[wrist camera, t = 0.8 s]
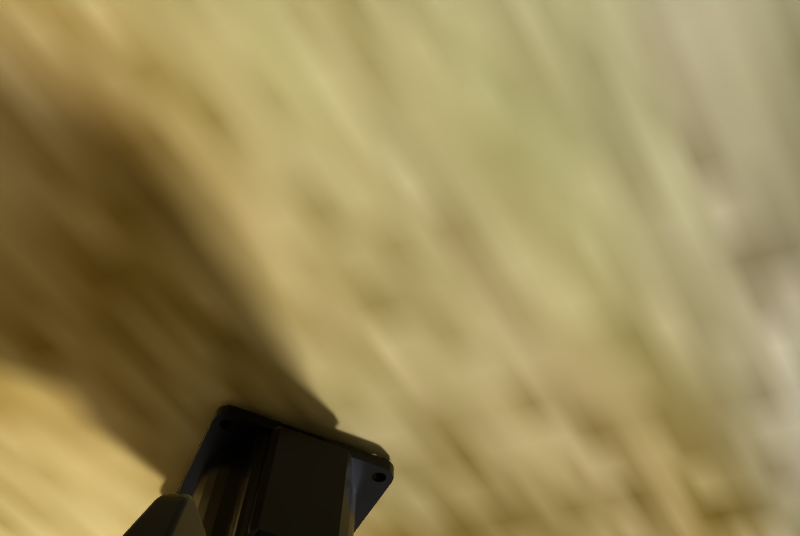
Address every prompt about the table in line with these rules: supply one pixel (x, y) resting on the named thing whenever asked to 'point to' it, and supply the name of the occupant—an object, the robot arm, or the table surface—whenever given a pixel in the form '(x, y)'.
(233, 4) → the table surface
